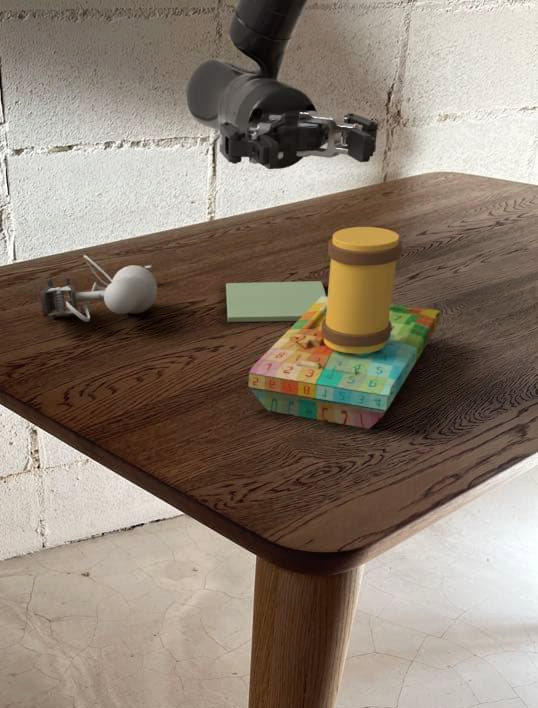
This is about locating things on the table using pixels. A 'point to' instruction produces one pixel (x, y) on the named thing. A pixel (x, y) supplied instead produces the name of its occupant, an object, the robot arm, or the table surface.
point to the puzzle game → (339, 369)
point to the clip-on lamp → (105, 293)
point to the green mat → (271, 300)
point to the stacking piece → (360, 289)
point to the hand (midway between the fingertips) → (321, 153)
